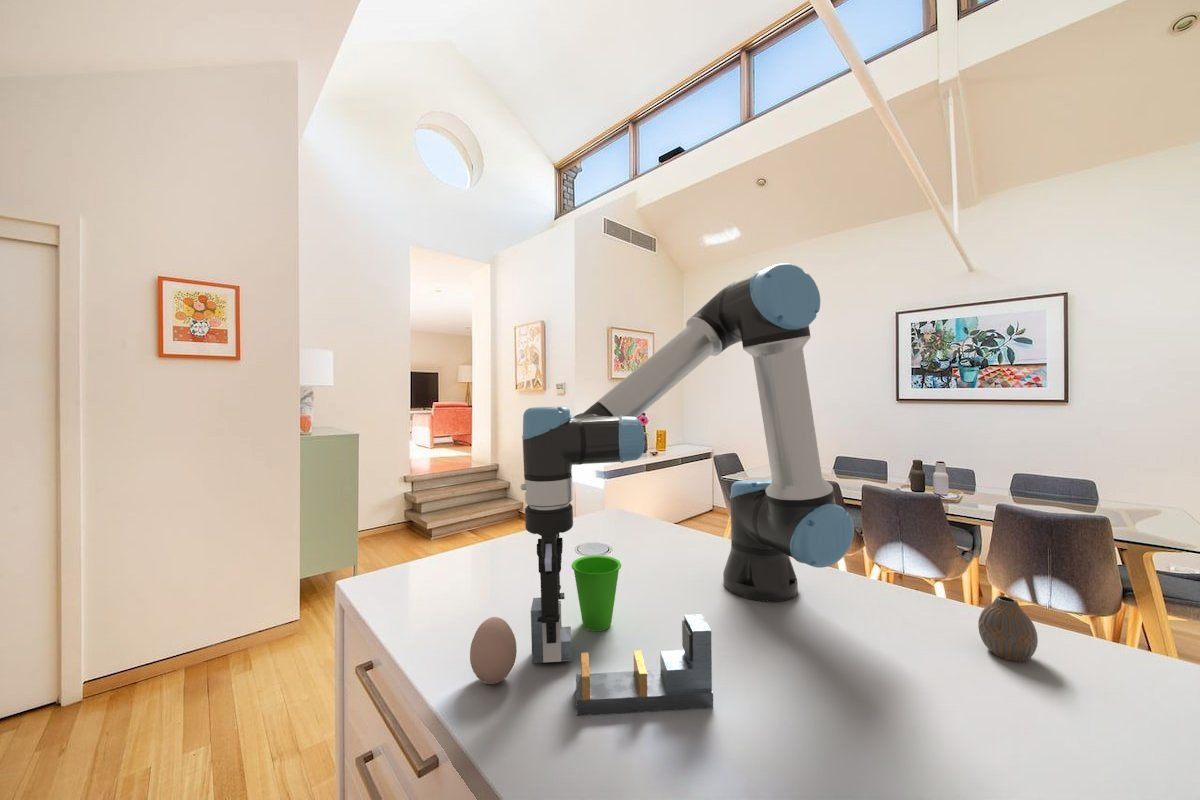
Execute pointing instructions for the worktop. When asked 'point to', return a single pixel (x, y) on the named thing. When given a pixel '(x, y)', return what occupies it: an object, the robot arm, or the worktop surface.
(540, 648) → the l-shaped step block
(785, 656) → the worktop surface
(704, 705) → the rail
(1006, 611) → the vase
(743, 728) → the worktop surface
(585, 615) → the cup
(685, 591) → the worktop surface
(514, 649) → the egg
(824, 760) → the worktop surface
